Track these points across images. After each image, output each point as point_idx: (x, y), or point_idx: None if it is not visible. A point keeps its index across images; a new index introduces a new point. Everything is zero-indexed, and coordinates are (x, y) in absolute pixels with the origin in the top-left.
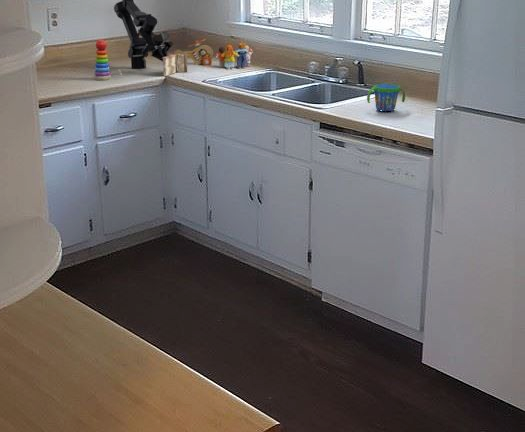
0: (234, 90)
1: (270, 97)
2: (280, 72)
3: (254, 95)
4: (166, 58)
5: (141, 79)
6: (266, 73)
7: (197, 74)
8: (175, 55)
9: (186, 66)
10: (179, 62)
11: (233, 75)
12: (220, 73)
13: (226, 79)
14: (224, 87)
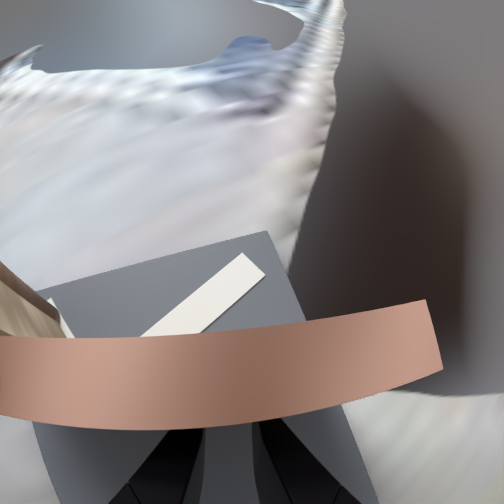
0: (317, 38)
1: (318, 10)
2: (20, 55)
3: (327, 20)
4: (394, 310)
5: (440, 471)
6: (32, 61)
7: (63, 224)
8: (10, 341)
9: (26, 285)
10: (29, 333)
11: (68, 91)
12: (25, 144)
13: (162, 72)
14: (304, 52)
